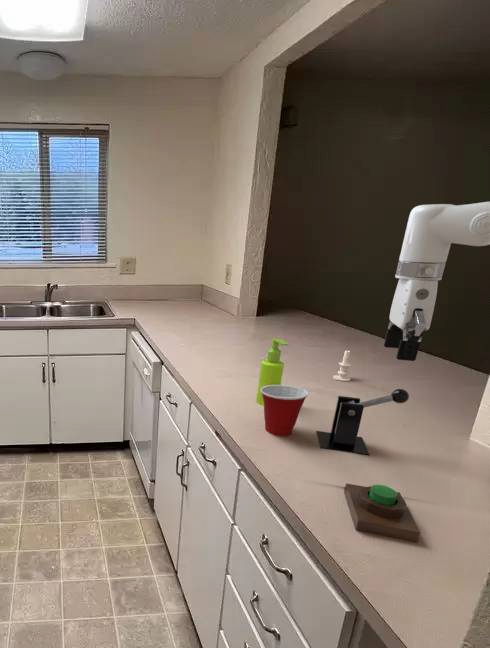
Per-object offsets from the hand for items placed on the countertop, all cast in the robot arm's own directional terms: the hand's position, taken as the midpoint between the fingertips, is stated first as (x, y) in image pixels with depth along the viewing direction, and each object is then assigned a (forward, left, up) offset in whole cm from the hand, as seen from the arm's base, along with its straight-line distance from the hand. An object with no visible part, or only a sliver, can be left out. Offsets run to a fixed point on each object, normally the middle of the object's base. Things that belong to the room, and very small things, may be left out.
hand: (398, 353), depth 92 cm
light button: (+5, +26, -21) cm, 34 cm away
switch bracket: (+7, -1, -24) cm, 25 cm away
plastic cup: (+20, -3, -24) cm, 32 cm away
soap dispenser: (+23, -21, -24) cm, 39 cm away
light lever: (+1, -1, -13) cm, 13 cm away
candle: (-1, -54, -24) cm, 59 cm away
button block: (+4, +26, -24) cm, 36 cm away
